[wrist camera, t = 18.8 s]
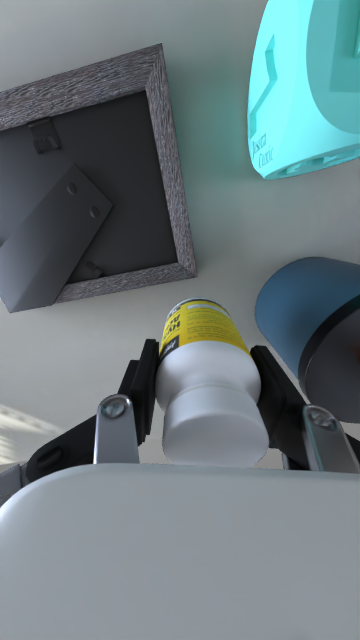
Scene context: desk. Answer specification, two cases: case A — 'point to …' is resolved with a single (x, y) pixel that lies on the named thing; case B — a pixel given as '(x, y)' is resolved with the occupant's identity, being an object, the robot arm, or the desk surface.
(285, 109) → the decorative dice
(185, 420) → the supplement bottle
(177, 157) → the picture frame
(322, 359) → the travel mug
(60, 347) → the desk surface
